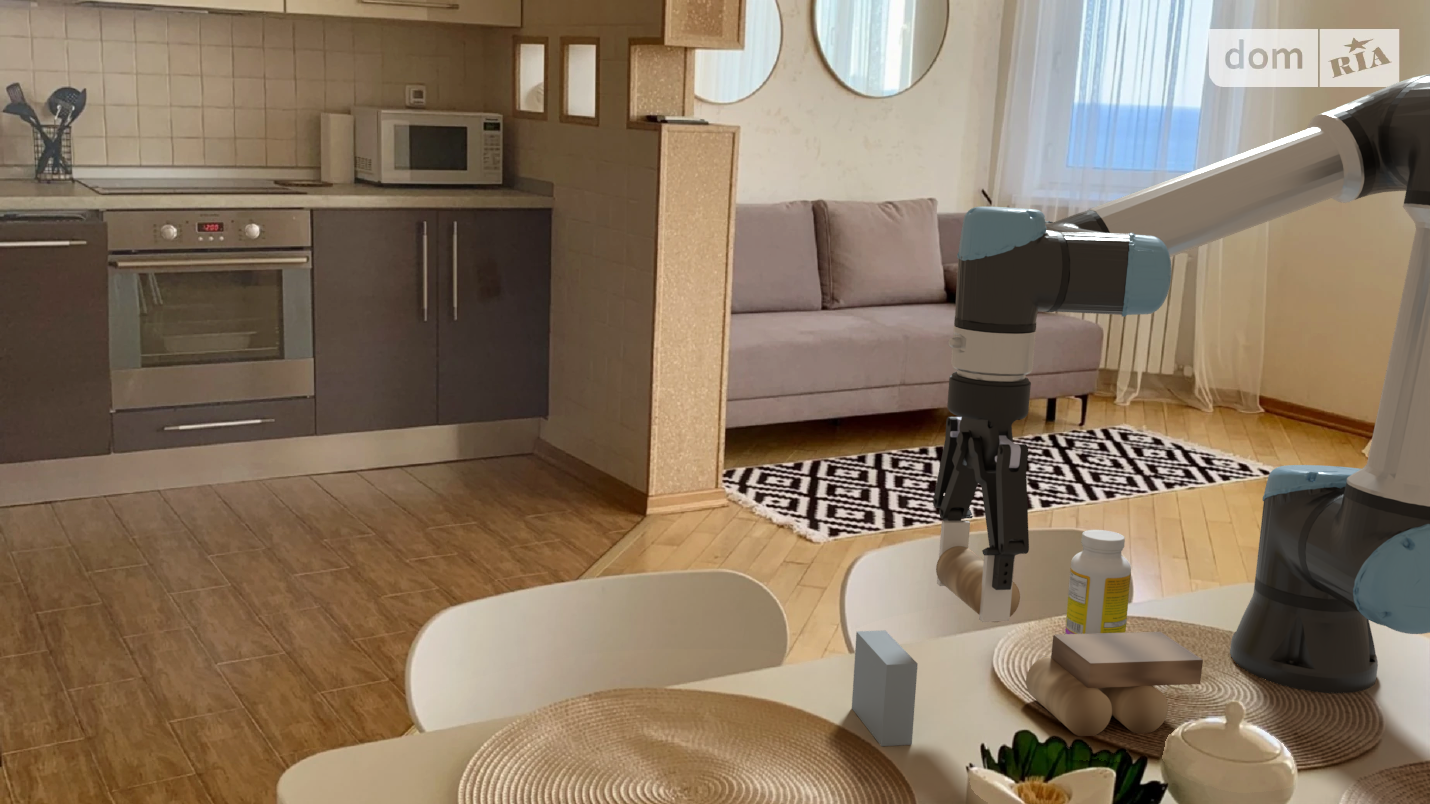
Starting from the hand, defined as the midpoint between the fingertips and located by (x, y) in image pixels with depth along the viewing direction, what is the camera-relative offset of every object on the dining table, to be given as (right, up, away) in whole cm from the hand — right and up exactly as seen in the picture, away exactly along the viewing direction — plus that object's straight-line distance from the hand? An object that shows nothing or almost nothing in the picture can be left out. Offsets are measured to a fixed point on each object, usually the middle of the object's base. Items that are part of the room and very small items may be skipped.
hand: (971, 601), depth 135 cm
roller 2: (+8, -11, +4) cm, 14 cm away
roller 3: (+14, -11, +5) cm, 18 cm away
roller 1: (0, 0, 0) cm, 0 cm away
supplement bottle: (+19, -9, +26) cm, 33 cm away
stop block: (-9, -12, 0) cm, 15 cm away
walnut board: (+16, -8, +5) cm, 19 cm away
